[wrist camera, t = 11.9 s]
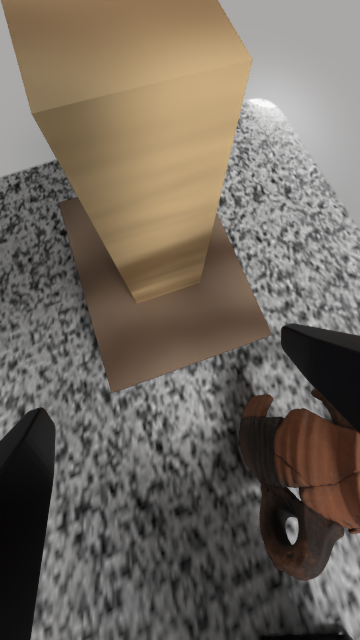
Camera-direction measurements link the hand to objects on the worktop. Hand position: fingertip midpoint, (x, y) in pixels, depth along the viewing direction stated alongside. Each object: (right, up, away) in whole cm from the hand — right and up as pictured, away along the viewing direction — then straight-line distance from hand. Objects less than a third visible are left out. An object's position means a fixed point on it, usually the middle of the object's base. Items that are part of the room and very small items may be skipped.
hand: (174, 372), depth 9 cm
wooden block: (-1, +6, +10) cm, 12 cm away
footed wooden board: (-1, +5, +14) cm, 15 cm away
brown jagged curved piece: (+9, -9, +11) cm, 17 cm away
